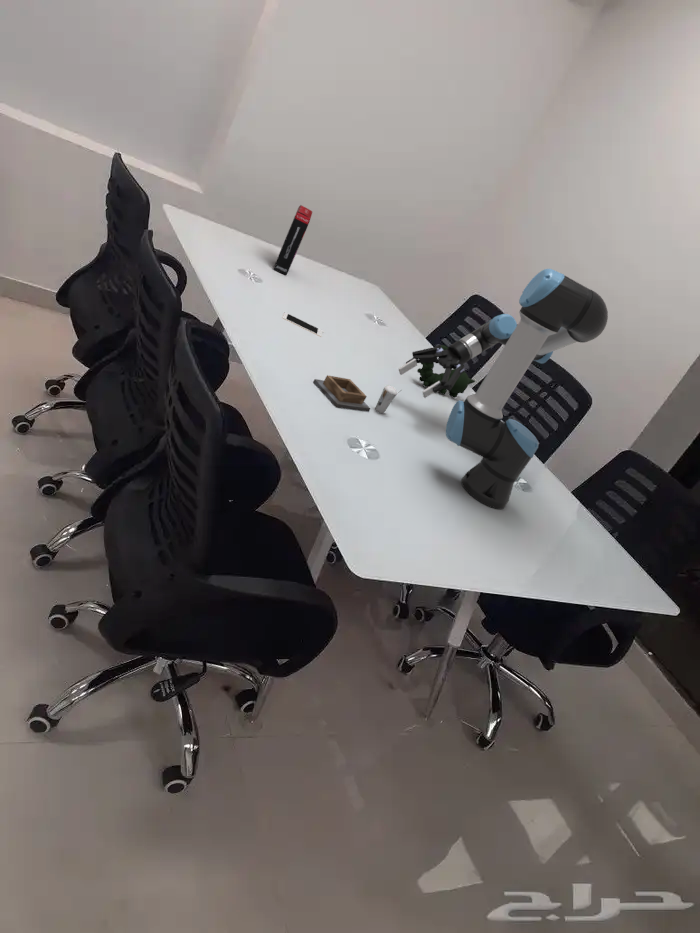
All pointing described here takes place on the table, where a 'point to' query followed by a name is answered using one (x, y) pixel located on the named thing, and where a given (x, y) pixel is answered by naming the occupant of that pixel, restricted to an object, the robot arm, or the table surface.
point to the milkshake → (386, 398)
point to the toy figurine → (432, 378)
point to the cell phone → (302, 324)
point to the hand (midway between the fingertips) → (411, 383)
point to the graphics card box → (293, 240)
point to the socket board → (342, 393)
